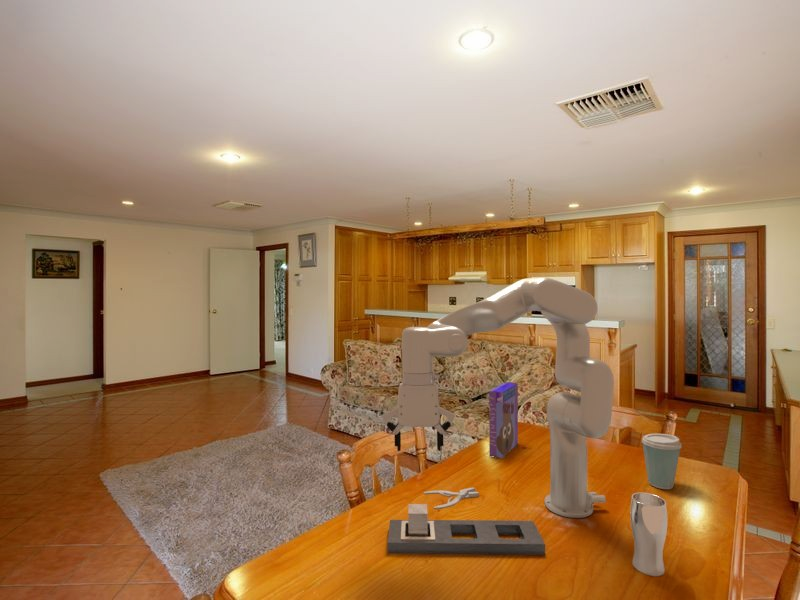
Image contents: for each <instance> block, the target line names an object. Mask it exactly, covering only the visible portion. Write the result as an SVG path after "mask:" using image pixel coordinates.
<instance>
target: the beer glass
mask: <svg viewBox="0 0 800 600" xmlns="http://www.w3.org/2000/svg"><path fill="white" fill-rule="evenodd" d="M629 514H630V526H631V532H632V538H633V543H634V544H633V546H634V551H633V557H632V566H633V567H634V568H635V570H637V571H639V572H640V573H641V574H644V575H647V576H649V577H650V576H651V577H660V576H661V577H662V575H664V574H665V571H666V570H665V563H664V559H663V555H664V554H663V551H664V546H665V542H666V537H667V531H668V510H667V502H666V500H665V499H664V498H662V497H661V496H659V495H656V494H653V493H649V492H643V491H641V492H635V493H632V495H631V502H630V513H629Z"/></svg>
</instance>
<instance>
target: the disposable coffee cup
mask: <svg viewBox="0 0 800 600" xmlns="http://www.w3.org/2000/svg"><path fill="white" fill-rule="evenodd" d="M641 443H642V444H641V445H642V449H643V455H644V462H645V469H646V473H647V474H646V475H647V481H648V482H649V484H650V486H653V488H657V489H660V490H661V489H662V490H672V489H673V487H674V485H675V481H676V475H677V469H678V463H679V458H680V452H681V451H680V450H681V449H682V443H681V441H680V437H678V436H676V435H672V434H668V433H667V434H666V433H649V434H645V435H643V437H642V438H641Z"/></svg>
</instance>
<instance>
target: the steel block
mask: <svg viewBox="0 0 800 600" xmlns="http://www.w3.org/2000/svg"><path fill="white" fill-rule="evenodd" d="M407 516H408V517H407V518H408V519H407V520H408V528H409V534H408V537H429V536H428V535H429V534H428V521H427V520H428V504H427V503H408V514H407Z"/></svg>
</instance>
